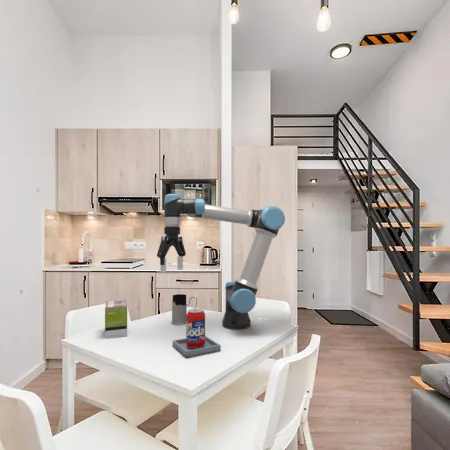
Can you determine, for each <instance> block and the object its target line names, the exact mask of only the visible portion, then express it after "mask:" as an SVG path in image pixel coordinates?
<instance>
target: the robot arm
mask: <svg viewBox="0 0 450 450" xmlns="http://www.w3.org/2000/svg"><path fill="white" fill-rule="evenodd" d="M163 204H164V205H163V207H164V208H163V209H164V217H163V218H164V229H163V234H164V236H163V235H162V236H161V238H160V239H161V240H160V243H159V247H158V250H157V253H156V257H157V258H159V264H160V269H159V270H160V271H159V272H160V273H167V254H168V253H169V250H170V248H171V247H174V250H175V251H176V254H177V255H178V256H177V259H176V260H177V261H176V262H177V270H180V271H183V270H184V267H183V266H184V263H183V262H184V257H185V256H186V254H187V253H186V250H185V245H184V242H183V236H179V235H180V234H181V227H180V226H181V215H187V216H188V217H189V218H200V219H201V218H202V219H205V220H206V219H207V220H214V221H220V222H225V223H226V222H227V223H233V224H240V225H246V226H247V227H248V228H253V229H254V230H255V236H254V238H253V241H252V243H251V246H250V249H249V252H248V254H247V258H246V260H245V263H244V266H243V268H242V270H241V274H240V276H239V278H237V279H235V281H227V282H226V283H225V286H224V290H225V312H224V316H223V318H222V321H221V322H222V327H223V328H226V329H229V330H244V329H249V328H250V327H251V326H252V325H251V324H252V323H251V322H252V321H251V318H250V315H249V312H251V311H252V310H253V309H254V308H255V306H256V303H257V302H256V301H257V298H256V295H257V292H258V290H259V288H258V285H257V282H258V280H259V278H260V275H261V272H262V269H263V267H264V264H265V261H266V258H267V255H268V252H269V250H270V247H271V243H272V242H273V241H272V240H273V239H274V238H276V237H277V236H278V233H279V231H280V229H281V228H282V227H283V226H284V224H285V221H286V217H285V213H284V211H283V210H282V209H281V208H279V207H278V206H273V205H270V206H269V205H268V206H267V207H266V206H265V208H262V209H251V208H250V209H249V210H244V209H238V208H230V207H225V206H218V205H213V204H211V205H210V204H207V203H206V202H205V199H202V198H201V199H200V198H181V195H180V194H178V193H168V194H165V196H164V203H163Z"/></svg>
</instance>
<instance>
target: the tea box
mask: <svg viewBox="0 0 450 450" xmlns="http://www.w3.org/2000/svg"><path fill="white" fill-rule="evenodd" d="M124 337H128V304H127V300H126V299H120V300H119V299H117V300H106V301H105V306H104V339H116V338H124Z"/></svg>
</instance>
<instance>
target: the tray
mask: <svg viewBox="0 0 450 450" xmlns="http://www.w3.org/2000/svg"><path fill="white" fill-rule="evenodd" d="M172 348H173V349H174V350H175V351H177V352H178V353H179V354H180V355H182V356H183V358H185V359H190V358H195V357H202V356H205V355H210V354H215V353H219V352H221V351H222V350H221V344H220V343H218V342H216V341H215V340H213V339H212V338H210V337H208V336H207V335H205V346H203V347H202V348H199V349H191V348H189V347H187V346H186V338H180V339H179V338H178V339H175V340H172Z"/></svg>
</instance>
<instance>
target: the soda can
mask: <svg viewBox="0 0 450 450" xmlns="http://www.w3.org/2000/svg"><path fill="white" fill-rule="evenodd" d="M185 327H186V331H185V334H186V335H185V336H186V346H187V347H189V348H191V349H199V348H202V347H203V346H205V336H206V312H205V311H204V309H202V308H195V309H194V308H191V309H188V310H187V315H186V324H185Z"/></svg>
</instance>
